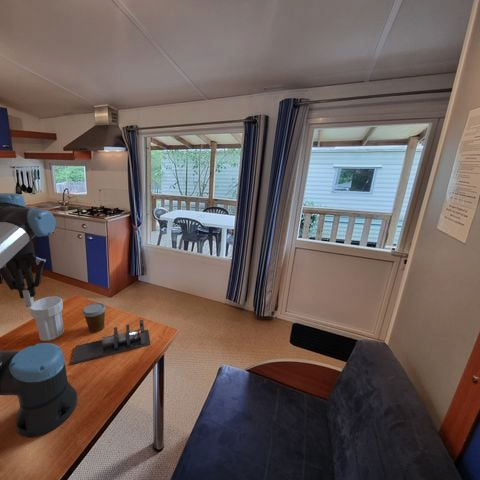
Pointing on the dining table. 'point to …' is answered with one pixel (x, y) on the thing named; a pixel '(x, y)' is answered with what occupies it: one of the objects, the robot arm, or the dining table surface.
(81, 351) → the collar rail
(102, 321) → the disposable coffee cup
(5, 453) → the dining table surface
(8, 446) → the dining table surface
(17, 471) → the dining table surface
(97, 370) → the dining table surface
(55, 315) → the cup
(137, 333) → the tube
